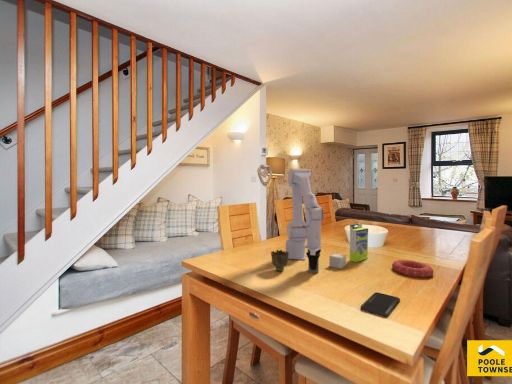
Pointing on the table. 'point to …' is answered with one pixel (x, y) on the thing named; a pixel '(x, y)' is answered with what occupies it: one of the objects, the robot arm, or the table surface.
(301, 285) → the table surface
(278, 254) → the cup
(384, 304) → the phone
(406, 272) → the torus
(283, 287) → the table surface
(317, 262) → the charcoal block
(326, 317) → the table surface
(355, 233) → the box
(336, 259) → the small box
